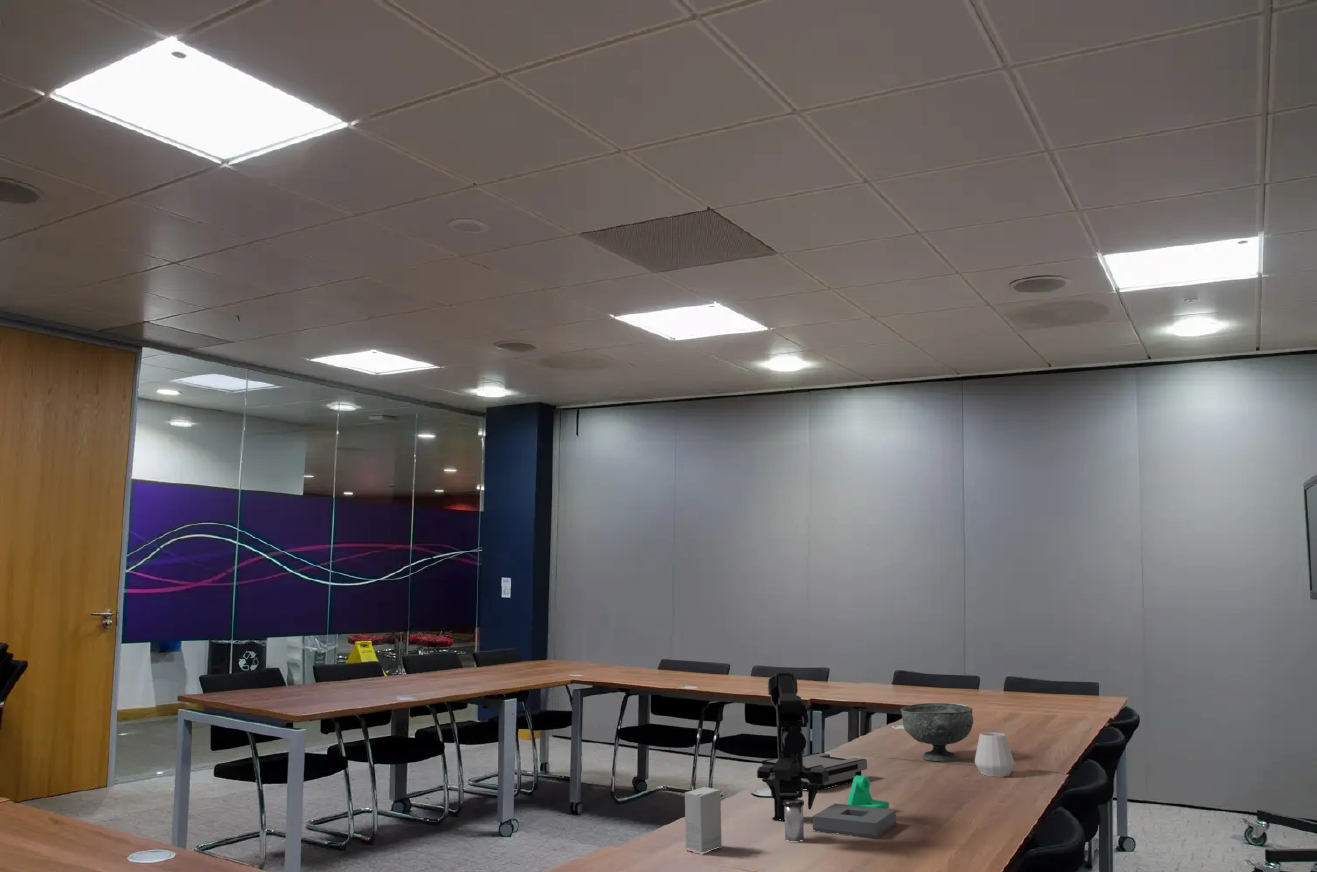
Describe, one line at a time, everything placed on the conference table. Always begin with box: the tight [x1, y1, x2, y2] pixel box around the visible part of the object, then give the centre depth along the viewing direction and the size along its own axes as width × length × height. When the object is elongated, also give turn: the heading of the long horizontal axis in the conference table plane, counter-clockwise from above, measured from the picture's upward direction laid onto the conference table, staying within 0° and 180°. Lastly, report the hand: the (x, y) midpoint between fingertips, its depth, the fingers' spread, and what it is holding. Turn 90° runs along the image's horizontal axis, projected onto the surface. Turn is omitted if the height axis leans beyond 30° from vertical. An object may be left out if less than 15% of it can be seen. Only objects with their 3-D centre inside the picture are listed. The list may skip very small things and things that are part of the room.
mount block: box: [812, 803, 897, 840], centre depth 273 cm, size 18×18×4 cm
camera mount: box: [846, 775, 890, 809], centre depth 292 cm, size 12×8×10 cm, turn 136°
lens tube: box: [783, 798, 805, 841], centre depth 262 cm, size 6×6×10 cm
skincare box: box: [684, 786, 723, 852], centre depth 253 cm, size 8×6×15 cm
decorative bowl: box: [900, 702, 974, 763], centre depth 379 cm, size 26×26×20 cm
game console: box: [761, 752, 868, 791], centre depth 338 cm, size 21×32×8 cm, turn 134°
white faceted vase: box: [974, 731, 1015, 777], centre depth 347 cm, size 13×13×14 cm
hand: (793, 807), depth 262 cm, fingers open, 9 cm apart
